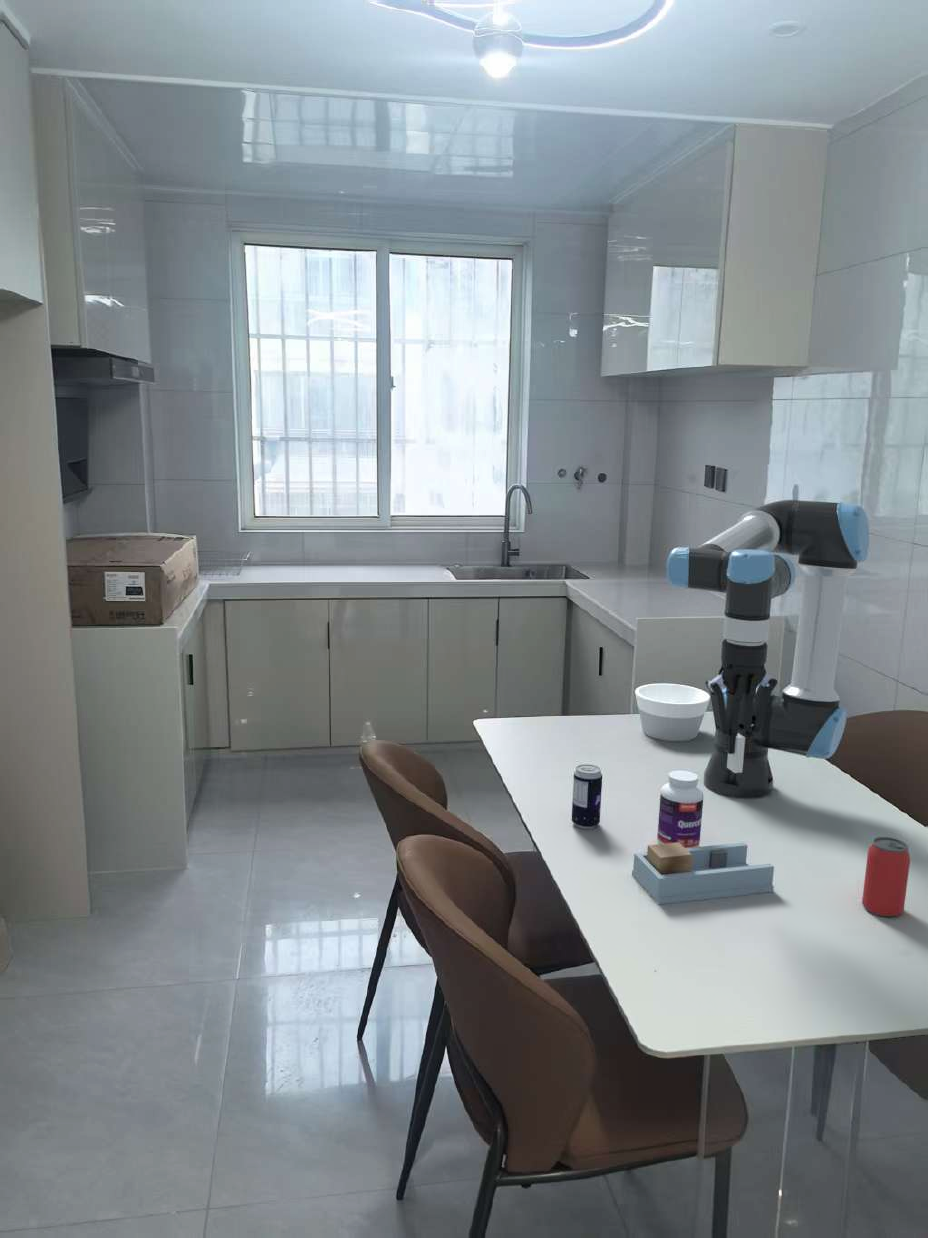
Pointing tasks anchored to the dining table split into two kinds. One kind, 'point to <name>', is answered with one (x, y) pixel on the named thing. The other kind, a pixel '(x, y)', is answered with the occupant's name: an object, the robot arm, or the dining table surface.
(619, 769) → the dining table surface
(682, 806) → the pill bottle
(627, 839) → the dining table surface
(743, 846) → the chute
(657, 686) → the bowl
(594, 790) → the beverage can
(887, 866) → the beer can
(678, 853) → the walnut block
